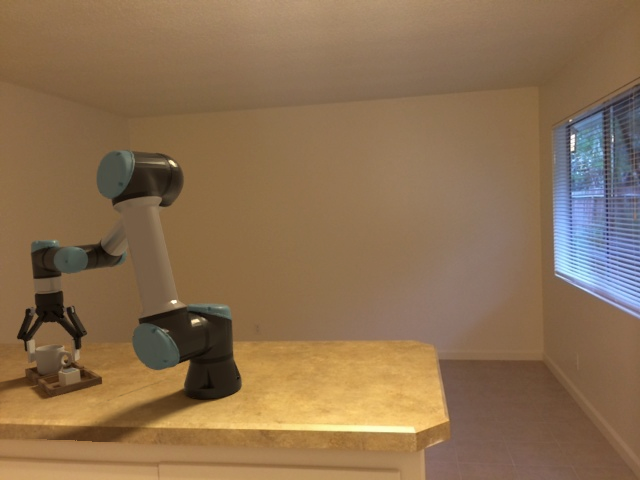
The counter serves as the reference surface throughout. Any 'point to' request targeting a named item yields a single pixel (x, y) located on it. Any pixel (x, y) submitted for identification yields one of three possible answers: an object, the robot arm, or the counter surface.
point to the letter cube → (69, 376)
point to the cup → (51, 359)
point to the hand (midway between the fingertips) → (54, 360)
